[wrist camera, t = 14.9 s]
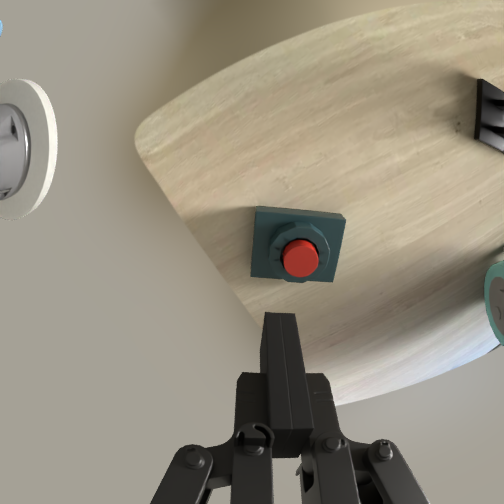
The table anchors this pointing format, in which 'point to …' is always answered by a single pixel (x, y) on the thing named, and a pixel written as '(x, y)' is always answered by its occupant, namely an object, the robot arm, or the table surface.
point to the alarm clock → (495, 298)
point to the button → (300, 258)
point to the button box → (295, 228)
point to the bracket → (489, 115)
